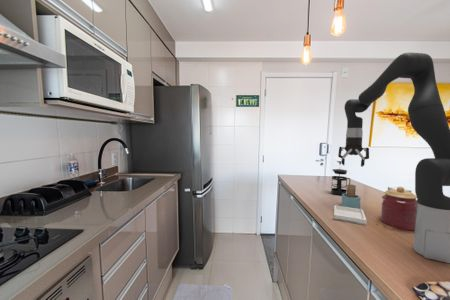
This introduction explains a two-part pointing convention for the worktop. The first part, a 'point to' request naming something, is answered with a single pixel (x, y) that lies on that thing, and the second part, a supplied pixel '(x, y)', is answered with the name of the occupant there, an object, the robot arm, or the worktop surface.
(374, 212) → the worktop surface
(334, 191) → the french press
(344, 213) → the white tray
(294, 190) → the worktop surface
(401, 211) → the canister
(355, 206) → the teal pot
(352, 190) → the walnut peg
